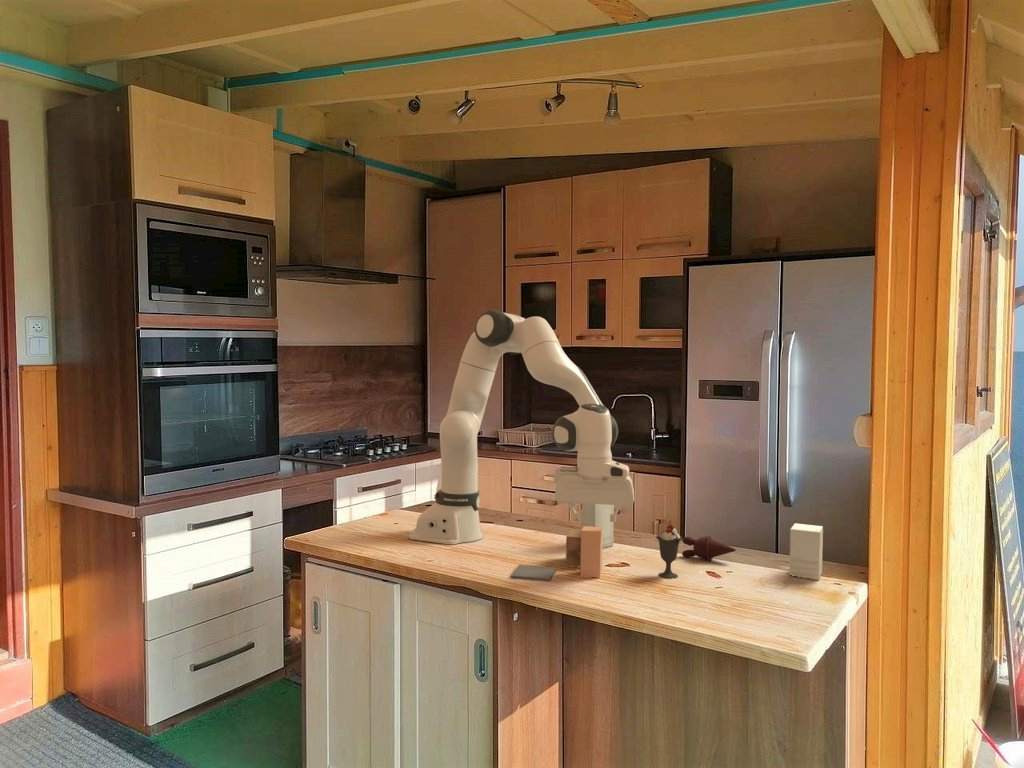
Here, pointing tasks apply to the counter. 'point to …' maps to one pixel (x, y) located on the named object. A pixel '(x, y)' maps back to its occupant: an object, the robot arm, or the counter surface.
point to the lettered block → (573, 548)
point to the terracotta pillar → (591, 551)
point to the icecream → (705, 548)
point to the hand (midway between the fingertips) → (594, 520)
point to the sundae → (669, 549)
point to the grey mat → (533, 572)
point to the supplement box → (806, 551)
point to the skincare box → (599, 520)
